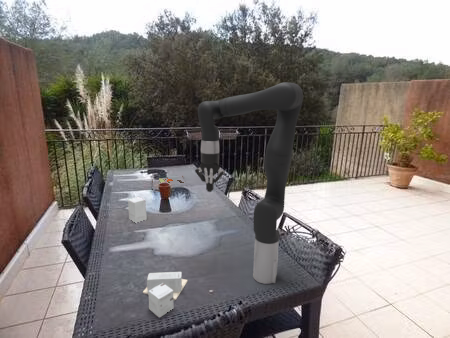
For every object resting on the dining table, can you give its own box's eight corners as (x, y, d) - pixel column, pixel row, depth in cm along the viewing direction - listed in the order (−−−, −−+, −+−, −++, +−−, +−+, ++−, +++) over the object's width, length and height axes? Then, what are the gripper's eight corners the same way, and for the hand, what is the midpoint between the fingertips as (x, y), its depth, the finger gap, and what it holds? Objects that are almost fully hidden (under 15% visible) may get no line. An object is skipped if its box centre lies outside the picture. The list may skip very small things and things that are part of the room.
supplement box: (147, 220, 164) (146, 199, 161) (135, 224, 159) (134, 202, 156) (140, 216, 169) (139, 196, 166) (128, 220, 164) (127, 199, 161)
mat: (187, 281, 112) (187, 280, 111) (175, 300, 101) (175, 298, 101) (157, 275, 115) (157, 274, 115) (142, 293, 104) (142, 291, 104)
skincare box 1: (181, 271, 107) (148, 271, 106) (181, 278, 103) (146, 279, 102) (181, 285, 109) (149, 285, 107) (181, 293, 104) (147, 293, 103)
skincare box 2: (159, 318, 93) (158, 299, 91) (148, 309, 97) (147, 290, 95) (174, 308, 97) (173, 290, 95) (163, 300, 101) (162, 282, 99)
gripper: (228, 150, 119) (227, 190, 123) (198, 148, 122) (198, 187, 126) (223, 154, 112) (222, 195, 116) (191, 151, 115) (191, 192, 119)
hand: (209, 191), depth 121 cm, fingers closed
